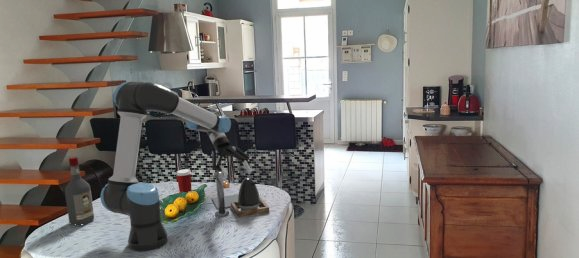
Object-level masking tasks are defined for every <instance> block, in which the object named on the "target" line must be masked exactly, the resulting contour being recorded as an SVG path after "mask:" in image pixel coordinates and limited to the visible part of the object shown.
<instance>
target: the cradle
mask: <svg viewBox="0 0 579 258" xmlns="http://www.w3.org/2000/svg"><path fill="white" fill-rule="evenodd" d="M259 197H260V196H259ZM259 206H261V207H258V208H256V209H250V210H244V211H243V210H239V208H240V206H239V204H238V201H235V202H231V207H230V208H231V209H232V211H233V213H234V214H235V216H236V218H237V219H238V218H244V217H251V216H257V215H262V214H269V213H270V207H269V206H268V204H267V203H266V202H265V200H263V198H262V197H260V203H259Z"/></svg>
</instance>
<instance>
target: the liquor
mask: <svg viewBox="0 0 579 258" xmlns="http://www.w3.org/2000/svg"><path fill="white" fill-rule="evenodd" d="M68 162H69V168H70V176H71V178H70V181H69V182H68V183H67V185H66V186H65V188H64V196H65V202H66V209H67V216H68V223H69V224H70V223H71V224H70V225H72V224H76V225H75V226H77V225H80V226H82V225H81V224H85V225H87V224H89V223H92V222H94V219H95V212H94V206H93V205H94V204H93V197H92V191H91V185H90V183H88V182H87V181H86V180H84V179H83V178H82V176H81V173H80V166H79V164H80V163H79V158H78V156H74V157H73V156H72V157H69V158H68ZM91 221H92V222H91ZM88 222H89V223H88ZM86 223H87V224H86Z"/></svg>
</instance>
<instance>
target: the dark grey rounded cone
mask: <svg viewBox="0 0 579 258" xmlns="http://www.w3.org/2000/svg"><path fill="white" fill-rule="evenodd" d="M257 184H258V182H257V181H254V180H253V179H252V178H249V177H247V178H244V179H243V180H242V182H241V184H240V186H239V190H238V194H239V195H238V204H239V206H240V207H239V208H240V209H241V211H244V210H250V209H256V208H259V206H260V204H259V203H260V194H259V190H258V187H257Z"/></svg>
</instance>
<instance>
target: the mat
mask: <svg viewBox="0 0 579 258" xmlns="http://www.w3.org/2000/svg"><path fill="white" fill-rule="evenodd" d="M238 195H239V193H236V194H229V195H224V201H225V209H229V208H231V202H235V201H238ZM211 200H212V202H213V204H214V206H215V208H216V210H217V211H219V210H218V197H217V196H216V197H212V198H211Z"/></svg>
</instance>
